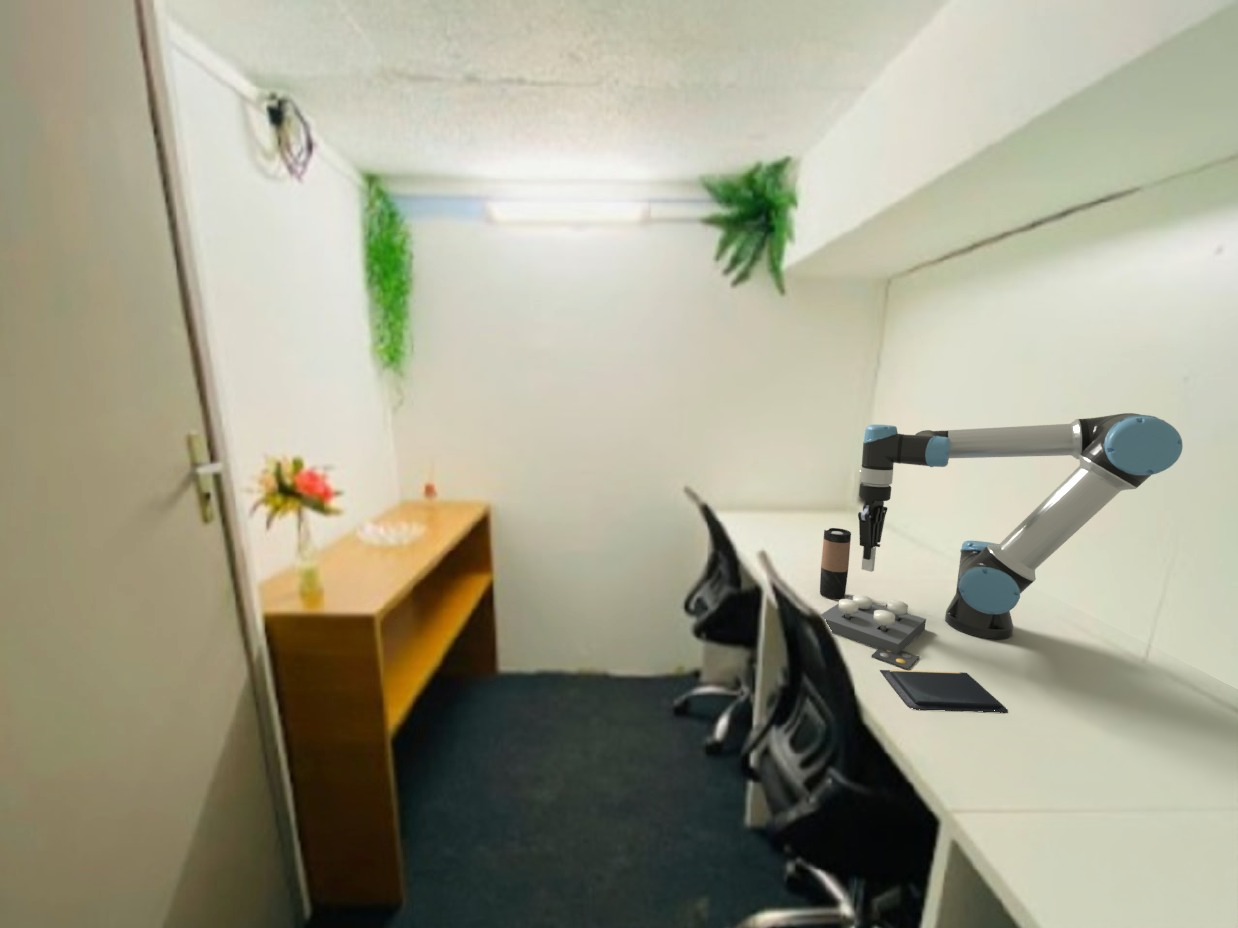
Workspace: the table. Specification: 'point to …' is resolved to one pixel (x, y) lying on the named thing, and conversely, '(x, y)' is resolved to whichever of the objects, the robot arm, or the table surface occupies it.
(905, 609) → the button
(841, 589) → the travel mug
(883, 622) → the button
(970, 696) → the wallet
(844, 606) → the button
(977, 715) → the table surface
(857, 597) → the button
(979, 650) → the table surface
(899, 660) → the card
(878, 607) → the button board
